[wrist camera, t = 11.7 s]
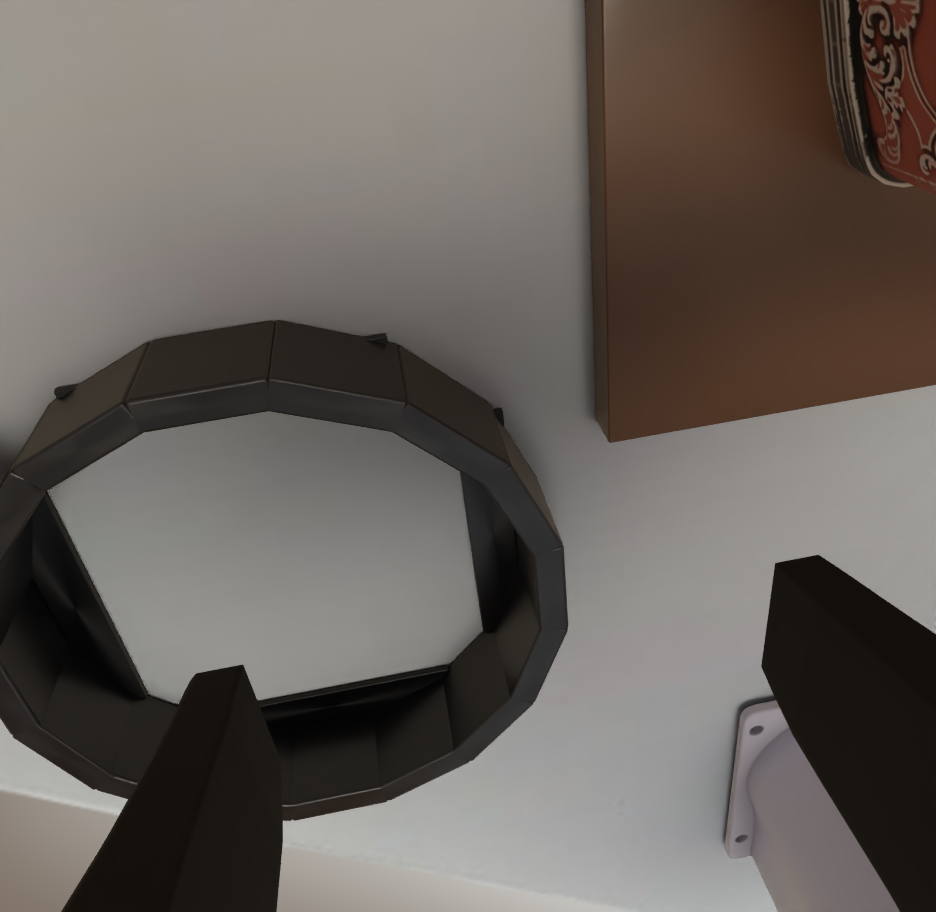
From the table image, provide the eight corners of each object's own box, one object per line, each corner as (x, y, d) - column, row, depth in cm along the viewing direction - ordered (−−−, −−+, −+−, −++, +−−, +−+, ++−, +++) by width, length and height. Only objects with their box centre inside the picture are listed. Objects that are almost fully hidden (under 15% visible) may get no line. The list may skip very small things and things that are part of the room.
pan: (553, 688, 27) (577, 764, 24) (-104, 817, 26) (-150, 912, 23) (506, 87, 17) (539, 113, 14) (-602, 252, 15) (-784, 312, 13)
